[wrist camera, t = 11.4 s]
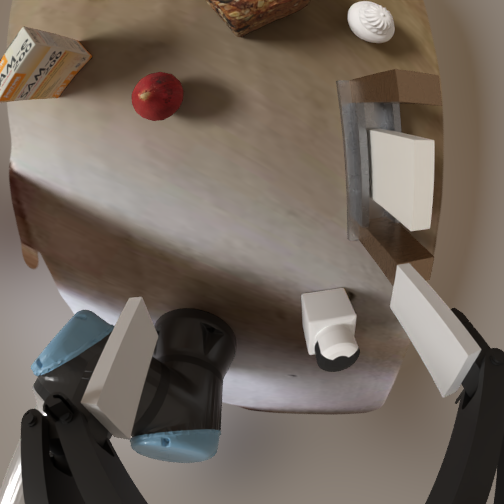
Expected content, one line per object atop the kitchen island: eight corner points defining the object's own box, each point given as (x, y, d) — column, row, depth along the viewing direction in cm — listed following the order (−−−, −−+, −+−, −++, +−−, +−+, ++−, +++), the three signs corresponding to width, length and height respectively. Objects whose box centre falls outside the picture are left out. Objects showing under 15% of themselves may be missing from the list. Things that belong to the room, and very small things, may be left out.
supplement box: (58, 99, 27) (-4, 106, 16) (45, 81, 26) (-16, 84, 14) (95, 56, 25) (35, 44, 14) (79, 39, 23) (21, 25, 12)
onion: (167, 67, 27) (144, 56, 20) (199, 94, 29) (184, 89, 22) (136, 101, 29) (108, 100, 22) (167, 128, 31) (145, 133, 24)
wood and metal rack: (395, 231, 38) (439, 277, 27) (347, 238, 39) (382, 290, 27) (390, 83, 28) (449, 77, 16) (336, 81, 28) (380, 67, 17)
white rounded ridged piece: (377, 55, 26) (403, 46, 20) (334, 36, 25) (353, 22, 19) (385, 21, 23) (410, 8, 17) (344, 2, 22) (363, -16, 16)
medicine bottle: (342, 319, 46) (361, 371, 35) (302, 325, 46) (313, 380, 36) (344, 286, 43) (368, 339, 32) (300, 292, 43) (314, 349, 32)
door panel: (383, 193, 34) (430, 228, 24) (367, 195, 35) (410, 231, 24) (380, 128, 30) (434, 140, 20) (363, 128, 30) (413, 139, 20)
